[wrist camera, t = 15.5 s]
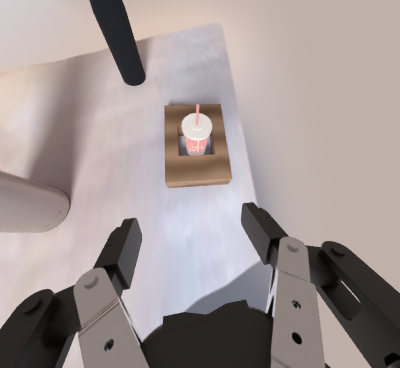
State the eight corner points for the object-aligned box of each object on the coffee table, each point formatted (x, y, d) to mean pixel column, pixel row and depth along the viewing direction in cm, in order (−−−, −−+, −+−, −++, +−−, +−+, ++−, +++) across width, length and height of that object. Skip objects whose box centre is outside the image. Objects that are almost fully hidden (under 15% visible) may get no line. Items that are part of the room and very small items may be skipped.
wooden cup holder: (227, 184, 35) (232, 178, 32) (168, 187, 34) (165, 182, 30) (217, 116, 41) (220, 104, 38) (167, 117, 40) (164, 105, 37)
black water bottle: (124, 87, 43) (-10, -201, 14) (122, 71, 45) (2, -211, 16) (146, 84, 44) (62, -193, 15) (144, 69, 46) (65, -204, 17)
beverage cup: (206, 138, 39) (213, 89, 26) (209, 159, 37) (218, 118, 24) (183, 139, 38) (178, 90, 25) (184, 161, 37) (180, 120, 23)
